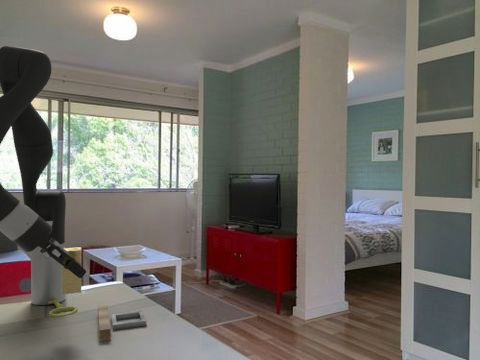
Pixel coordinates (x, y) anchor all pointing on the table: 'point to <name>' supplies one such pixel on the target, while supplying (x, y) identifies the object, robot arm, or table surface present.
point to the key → (60, 309)
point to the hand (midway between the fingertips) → (80, 272)
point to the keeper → (128, 324)
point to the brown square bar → (104, 323)
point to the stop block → (68, 278)
